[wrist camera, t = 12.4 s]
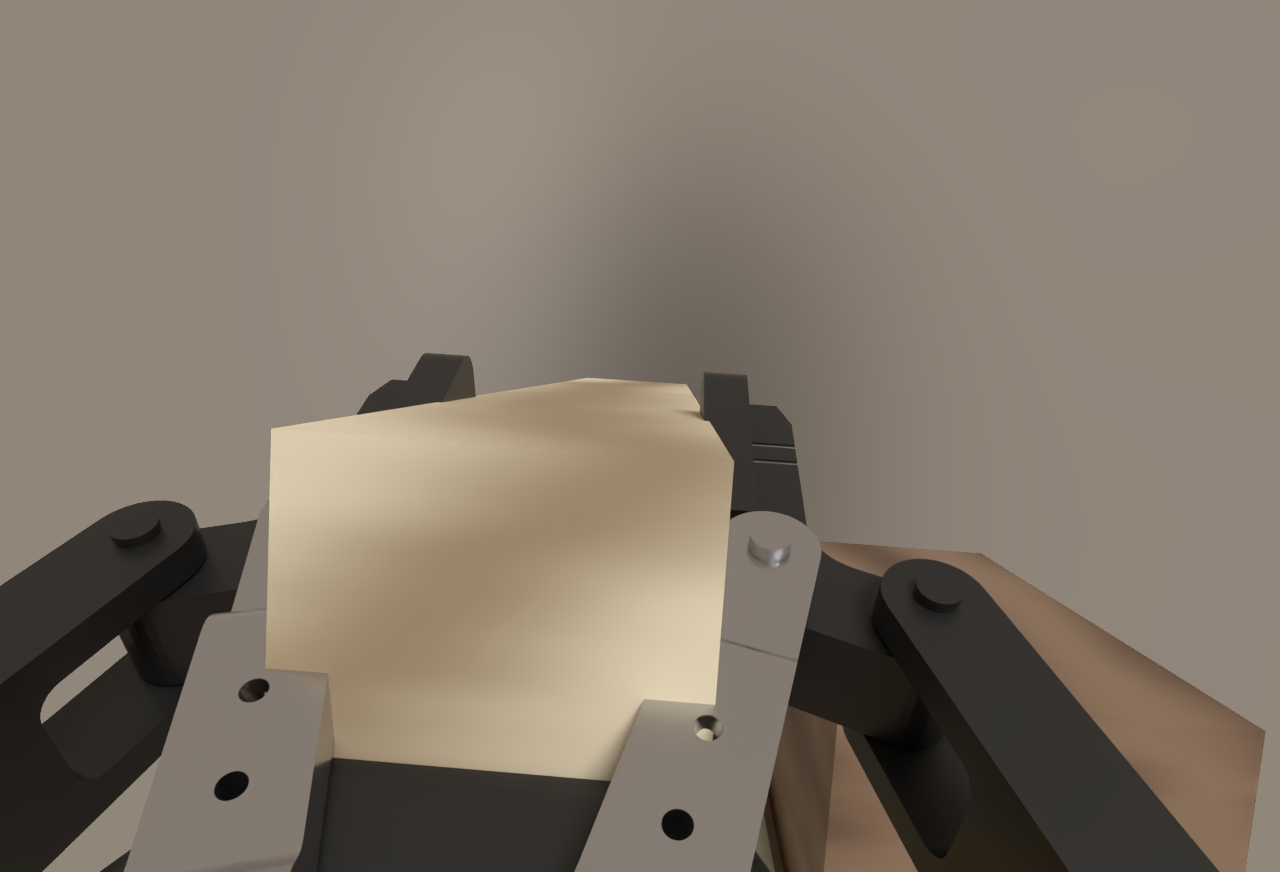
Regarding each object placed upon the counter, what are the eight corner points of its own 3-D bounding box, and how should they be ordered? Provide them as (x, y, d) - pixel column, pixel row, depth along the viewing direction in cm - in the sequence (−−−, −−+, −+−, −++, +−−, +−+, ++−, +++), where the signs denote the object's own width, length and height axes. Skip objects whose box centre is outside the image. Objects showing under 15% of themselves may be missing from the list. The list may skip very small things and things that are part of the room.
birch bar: (681, 458, 33) (686, 384, 33) (708, 799, 7) (734, 461, 7) (583, 451, 33) (588, 377, 33) (262, 761, 7) (271, 429, 7)
